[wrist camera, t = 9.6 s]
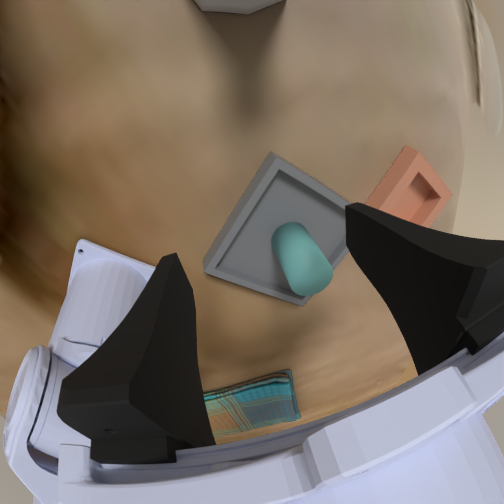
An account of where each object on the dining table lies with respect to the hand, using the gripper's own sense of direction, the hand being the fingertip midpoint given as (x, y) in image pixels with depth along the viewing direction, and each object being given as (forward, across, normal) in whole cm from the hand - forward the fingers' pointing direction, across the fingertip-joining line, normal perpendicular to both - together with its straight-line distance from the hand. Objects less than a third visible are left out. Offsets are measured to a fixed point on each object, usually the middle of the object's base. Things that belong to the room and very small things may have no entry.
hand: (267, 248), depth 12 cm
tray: (+9, -3, +6) cm, 12 cm away
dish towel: (+10, +11, +35) cm, 38 cm away
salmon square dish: (+9, -15, +6) cm, 18 cm away
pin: (+9, -3, +6) cm, 11 cm away
